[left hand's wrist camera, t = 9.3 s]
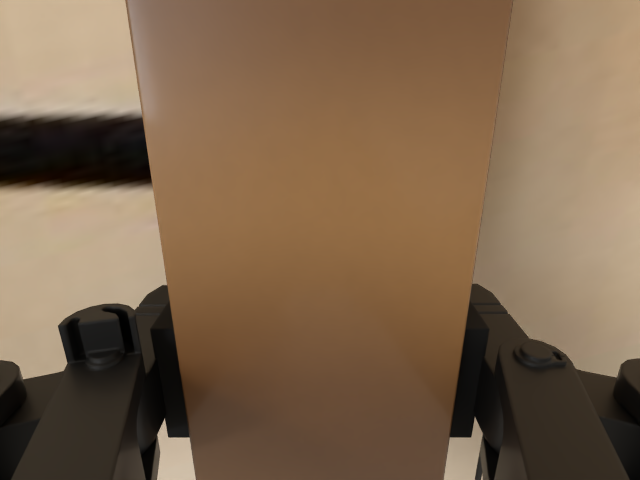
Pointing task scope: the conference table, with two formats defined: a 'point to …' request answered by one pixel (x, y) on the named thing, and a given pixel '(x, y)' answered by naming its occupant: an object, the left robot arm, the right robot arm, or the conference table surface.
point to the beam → (319, 222)
